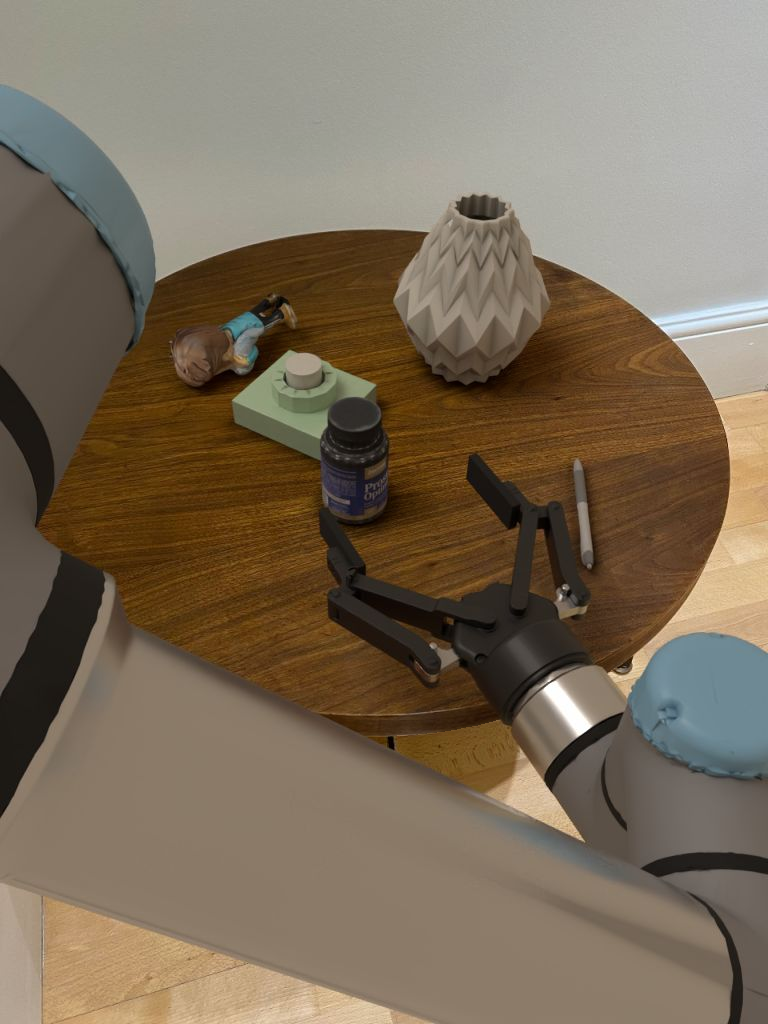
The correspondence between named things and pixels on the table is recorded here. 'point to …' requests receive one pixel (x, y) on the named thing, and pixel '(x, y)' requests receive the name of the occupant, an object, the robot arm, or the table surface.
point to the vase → (472, 290)
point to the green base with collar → (295, 405)
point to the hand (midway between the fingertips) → (399, 491)
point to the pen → (583, 515)
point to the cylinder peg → (303, 371)
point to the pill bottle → (354, 461)
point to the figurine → (227, 342)
